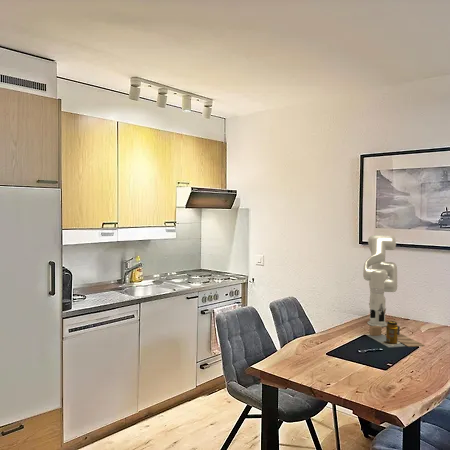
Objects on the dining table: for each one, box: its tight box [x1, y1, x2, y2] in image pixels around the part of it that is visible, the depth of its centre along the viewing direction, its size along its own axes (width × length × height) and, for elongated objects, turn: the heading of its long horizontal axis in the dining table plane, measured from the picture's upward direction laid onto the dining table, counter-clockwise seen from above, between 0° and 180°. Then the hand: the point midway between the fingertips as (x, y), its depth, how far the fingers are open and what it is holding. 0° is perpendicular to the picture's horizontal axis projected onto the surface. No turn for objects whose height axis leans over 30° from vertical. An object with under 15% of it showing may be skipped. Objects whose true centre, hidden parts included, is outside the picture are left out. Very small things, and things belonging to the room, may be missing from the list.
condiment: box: [382, 320, 400, 346], centre depth 252 cm, size 7×8×12 cm
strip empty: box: [384, 325, 425, 348], centre depth 259 cm, size 24×10×6 cm, turn 11°
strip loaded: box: [366, 325, 406, 348], centre depth 258 cm, size 24×10×6 cm, turn 11°
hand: (377, 319), depth 265 cm, fingers open, 9 cm apart
